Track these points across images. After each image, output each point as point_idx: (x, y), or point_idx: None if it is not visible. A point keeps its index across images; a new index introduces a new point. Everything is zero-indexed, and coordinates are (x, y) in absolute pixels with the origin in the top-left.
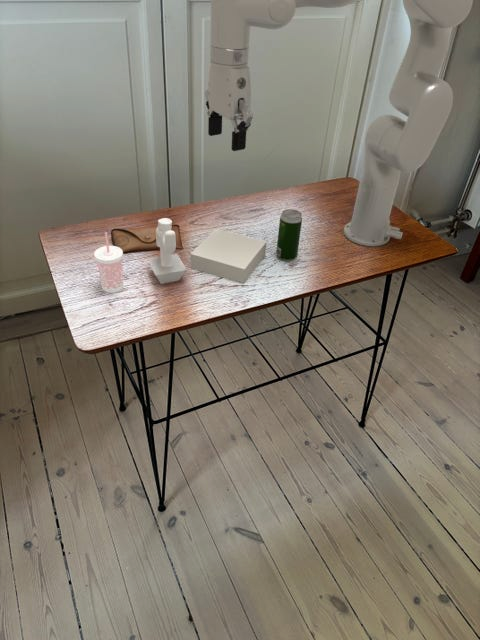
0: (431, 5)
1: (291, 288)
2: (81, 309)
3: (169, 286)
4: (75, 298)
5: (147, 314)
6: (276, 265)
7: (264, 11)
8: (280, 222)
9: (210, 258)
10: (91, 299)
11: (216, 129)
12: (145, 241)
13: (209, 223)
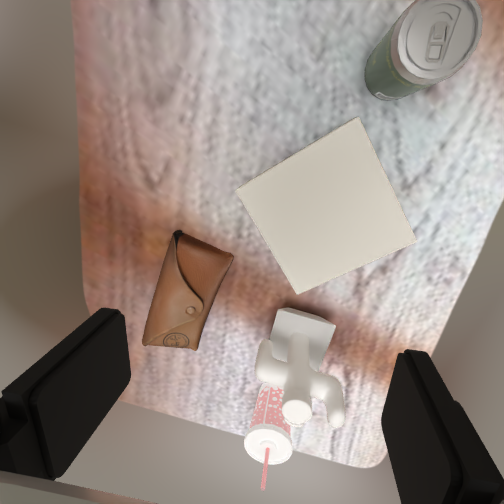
0: None
1: (496, 154)
2: (299, 440)
3: None
4: None
5: (365, 393)
6: (403, 122)
7: None
8: (409, 85)
9: (335, 273)
10: None
11: (107, 366)
12: (198, 316)
13: (167, 150)
